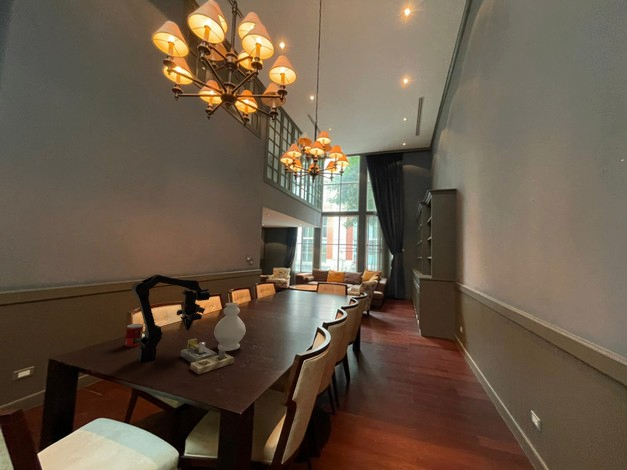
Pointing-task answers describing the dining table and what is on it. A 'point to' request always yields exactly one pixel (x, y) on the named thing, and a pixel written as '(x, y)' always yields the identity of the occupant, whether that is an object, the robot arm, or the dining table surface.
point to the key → (193, 344)
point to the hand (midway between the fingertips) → (187, 330)
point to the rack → (212, 363)
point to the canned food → (133, 335)
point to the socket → (196, 354)
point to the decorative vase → (230, 328)
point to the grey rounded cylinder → (201, 348)
